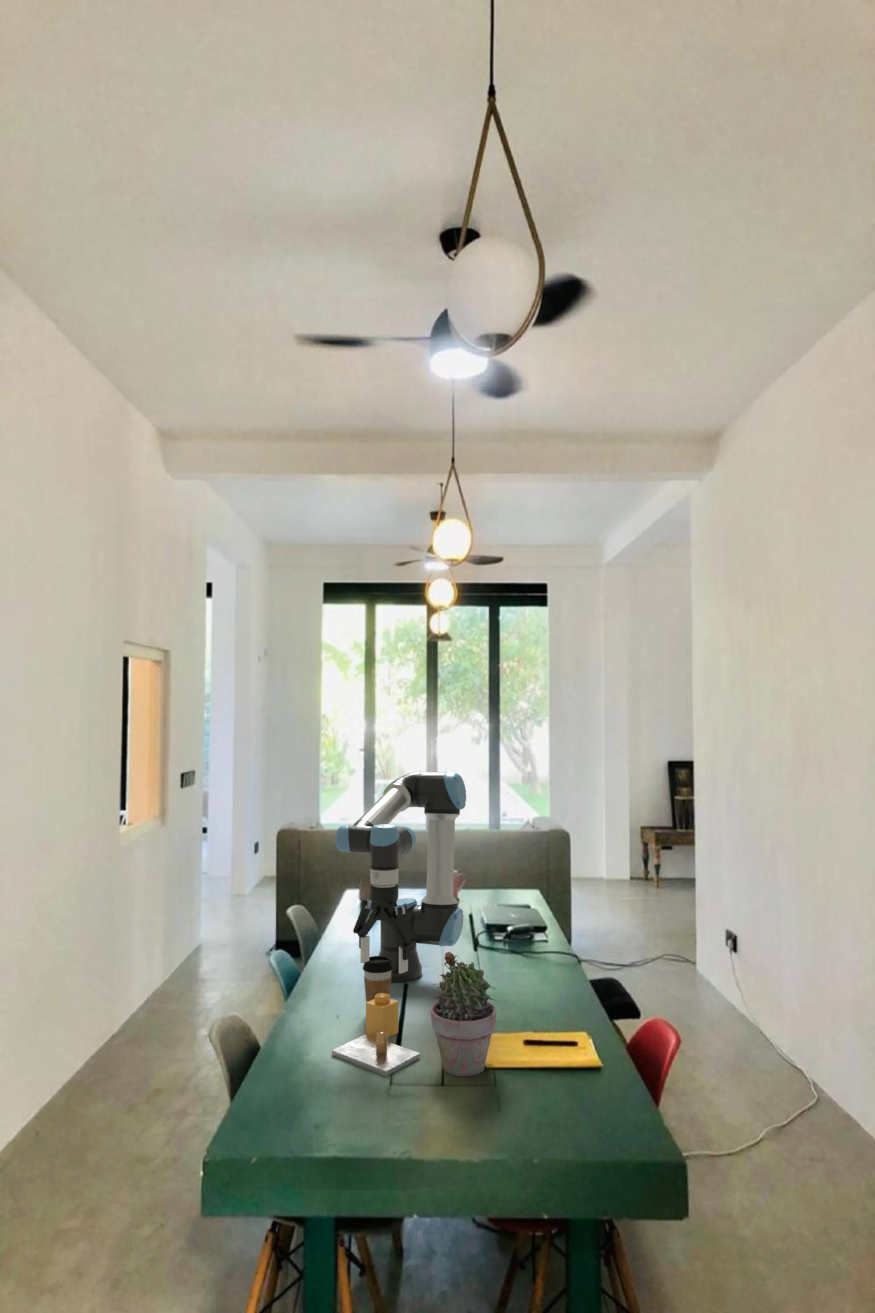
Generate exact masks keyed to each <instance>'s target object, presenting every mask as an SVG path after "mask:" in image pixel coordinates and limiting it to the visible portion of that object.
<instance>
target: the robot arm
mask: <svg viewBox="0 0 875 1313" xmlns="http://www.w3.org/2000/svg"><path fill="white" fill-rule="evenodd" d="M466 790H467V789H466V786H465V781H464V779H463V777H462V776H461V775H460V774H459V773H458V772H448V771H441V772H440V771H414V772H413V771H412V772H409V773H406V774H404V775H402V776H399V777H398V778H395V780H393V781H392V782H390V783H389V784H388V785H387V786H386V787H385V789H384V790H383V793H382V796H380V797H379V798H378V799H377V800H376V801H375V802H374V803H373V804H372V806H370V808H368V809H367V810H366V811H365V812H364V813H363V814H362V816H361V817H359V819H357V821H356V822H354V823H353V824H352V825H350V824H347V825H340V826H339V827H338V828H337V830H336V834H335V846H336V848H337V850H338V851H339V852H342V853H349V854H364V855H365V854H367V855H369V854H370V868H369V869H370V871H369V872H370V873H369V874H370V877H369V878H370V881H369V882H370V884H371V885H370V886H369V898H368V899H364V900H362V904H361V910H360V912H359V913H358V914H359V915H358V917H357V919H356V922H355V924H354V927H353V930H352V932H353V933H354V934H356V935H357V937H358V938H359V939H358V940H359V941H358V948H359V949H360V959H359V960H360V961H359V962H360V963H361V964H364V962H367V961H369V957H370V949H371V948H370V945H371V944H370V941H371V940H370V939H371V938H370V935H369V932H370V930H372V928H373V927H374V925H375V924H376V922H377V921H380V927H379V928H380V950H379V954H378V956H385V957H389V958H391V962H392V965H393V969H392V970H391V976H392V977H391V983H392V982H393V983H400V982H402V983H403V982H409V981H413V980H416V979H419V978H420V977H421V976H422V974H423V971H422V970H423V968H422V963H421V962H420V958H419V954H418V950H417V944H421V945H422V944H423V945H429V946H430V945H432V946H439V947H452V946H455V945H456V944H457V942H458V941H459V939H460V936H461V934H462V930H463V925H464V918H465V917H464V911H463V909H462V908H460V907H458V904H459V902H458V900H457V899H456V898H455V896H454V873H455V872H454V869H455V835H456V834H455V831H456V830H455V829H456V827H455V826H456V820H457V818H458V817H459V816H461V815H460V814H461V810H463V809H465V807H466V805H467V804H466V802H467V791H466ZM408 808H424V812H423V813H424V815H425V816H426V817H427V818H428V826H427V827H428V828H427V830H428V832H427V833H428V836H427V862H426V864H427V865H426V866H427V867H426V894H425V896H424V897H423V898H422V899H421V902H420V903H421V904H418V901H417V900H416V899H415V898H412V897H404V898H399V885H398V884H399V878H400V877H399V858H400V857H401V856H404V855H407V854H408V853H409V852H411V851H412V850H413V849H414V848H415V845H416V844H417V840H416V839H417V837H416V833H415V832H414V830H413V829H411V827H408V826H405V825H403V826H401V825H400V826H397V825H395V824H390V823H391V822H393V820H394V819H395V818H396V817H397V816H398V814H400V813H402V812H404V811H406V810H407V809H408Z"/></svg>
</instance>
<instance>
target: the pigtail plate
mask: <svg viewBox="0 0 875 1313" xmlns="http://www.w3.org/2000/svg"><path fill="white" fill-rule="evenodd" d="M331 1055H332V1057H333V1056H334V1057H336V1058H338V1059H341V1060H343V1061H346V1062H349V1063H351V1064H354V1065H355V1066H358V1067H360V1068H363V1069H366V1070H368V1071H371V1072H374V1073H376V1074H378V1075H381V1076H382V1077H385V1078H386V1077H388V1076H390V1075H392V1074H394V1073H396V1072H398V1071H399V1070H401V1069H403V1068H405V1067H407V1066H408V1065H411V1064H412V1063H414V1062H416V1061H417V1060H420V1059H421V1057H420V1056H421V1053H420V1052H417V1051H415V1050H412V1049H410V1048H409V1049H408V1048H406V1047H405V1046H404V1047H403V1046H401V1045H398V1044H395V1043H392V1042H390V1041H388V1038H387V1031H385V1030H380V1031H377V1032H376V1037H373V1036H370V1035H367V1034H366V1033H364V1035H361V1036H359V1037H357V1038H354V1039H353V1040H350V1041H348V1042H346V1043H344V1044H342V1045H340V1046H337V1047H335V1048H333V1049H332V1050H331Z"/></svg>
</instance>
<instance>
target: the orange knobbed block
mask: <svg viewBox="0 0 875 1313" xmlns="http://www.w3.org/2000/svg"><path fill="white" fill-rule="evenodd" d="M365 1002H366V1001H365ZM380 1030H385V1031H387V1039H389V1038H390V1037H393V1036H395V1035H397V1034H398V1033H399V1000H396V999H393V998H391V994H390V995H389V994H386V993H380V994H376V995H375V999H373V1000H371V1001H369V1002H366V1003H365V1034H367V1035H370V1036H373V1037H376V1032H377V1031H380Z"/></svg>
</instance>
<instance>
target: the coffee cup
mask: <svg viewBox="0 0 875 1313" xmlns="http://www.w3.org/2000/svg"><path fill="white" fill-rule="evenodd" d="M392 969H393V965H392V962H391V958H389V957H385V956H379V955H373V956H369V961H367V962H364V963H363V966H362V970H363V971H364V975H363V979H364V980H363V981H364V992H365V994H364V995H365V1002H369V1001H371V1000H373V999H375V995H376V994H380V993H386V994H389V995H390V996H391V985H392V982H391V977H392V976H391V970H392Z"/></svg>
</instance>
